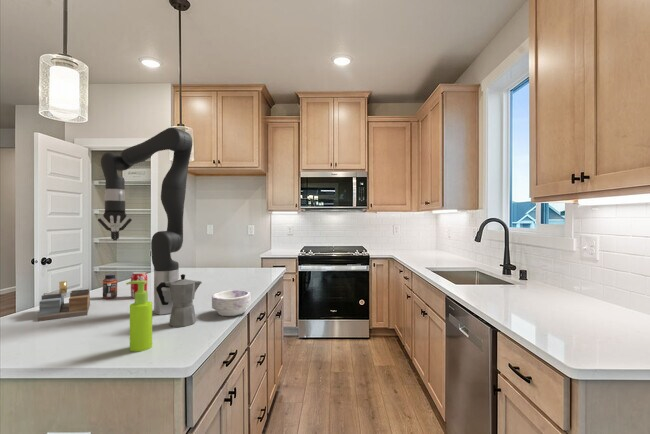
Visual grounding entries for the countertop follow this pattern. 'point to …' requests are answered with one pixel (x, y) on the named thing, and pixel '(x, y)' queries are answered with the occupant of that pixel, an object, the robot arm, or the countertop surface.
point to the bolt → (60, 289)
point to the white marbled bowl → (231, 302)
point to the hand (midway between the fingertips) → (115, 240)
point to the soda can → (134, 287)
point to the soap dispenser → (140, 319)
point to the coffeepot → (180, 301)
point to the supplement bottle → (109, 286)
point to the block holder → (64, 305)
